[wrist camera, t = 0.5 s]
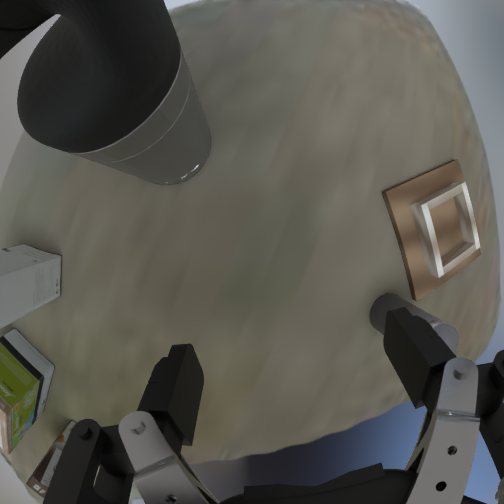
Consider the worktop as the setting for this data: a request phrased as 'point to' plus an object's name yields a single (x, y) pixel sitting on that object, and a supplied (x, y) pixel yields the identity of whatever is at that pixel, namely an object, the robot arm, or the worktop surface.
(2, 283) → the skincare box
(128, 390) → the worktop surface
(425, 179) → the mount board
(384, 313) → the dark grey cylinder
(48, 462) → the coffee box
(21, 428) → the tea box
